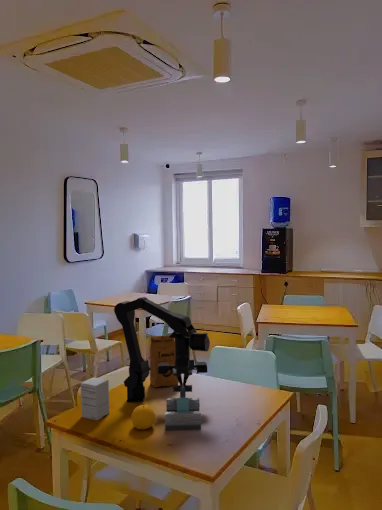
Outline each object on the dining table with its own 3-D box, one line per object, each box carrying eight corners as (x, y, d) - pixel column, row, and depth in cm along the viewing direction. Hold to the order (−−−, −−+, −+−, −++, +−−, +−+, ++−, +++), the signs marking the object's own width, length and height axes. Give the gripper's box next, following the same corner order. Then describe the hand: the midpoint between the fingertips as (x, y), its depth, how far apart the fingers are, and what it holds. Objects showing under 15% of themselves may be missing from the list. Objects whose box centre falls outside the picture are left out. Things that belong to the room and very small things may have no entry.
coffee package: (181, 387, 186) (180, 336, 185) (152, 390, 182) (151, 338, 182) (175, 379, 195) (175, 332, 194) (148, 382, 192) (147, 333, 191)
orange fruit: (151, 421, 150) (151, 399, 150) (158, 430, 143) (157, 407, 143) (129, 424, 148) (129, 403, 148) (134, 434, 140) (134, 411, 140)
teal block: (177, 414, 152) (176, 397, 152) (188, 414, 152) (188, 397, 152) (177, 420, 147) (176, 403, 147) (188, 420, 147) (188, 402, 147)
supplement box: (93, 410, 161) (93, 376, 161) (109, 413, 158) (109, 379, 157) (80, 417, 154) (79, 382, 154) (97, 420, 151) (96, 385, 151)
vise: (165, 430, 143) (165, 415, 143) (167, 409, 161) (166, 396, 161) (201, 429, 143) (201, 414, 143) (198, 408, 161) (198, 395, 161)
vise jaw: (166, 410, 156) (166, 390, 155) (167, 403, 162) (166, 384, 161) (199, 409, 156) (199, 389, 156) (198, 403, 162) (198, 384, 162)
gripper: (156, 355, 155) (157, 398, 156) (208, 354, 156) (208, 396, 156) (158, 348, 166) (158, 387, 167) (206, 346, 167) (206, 386, 167)
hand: (182, 389), depth 164 cm, fingers closed
